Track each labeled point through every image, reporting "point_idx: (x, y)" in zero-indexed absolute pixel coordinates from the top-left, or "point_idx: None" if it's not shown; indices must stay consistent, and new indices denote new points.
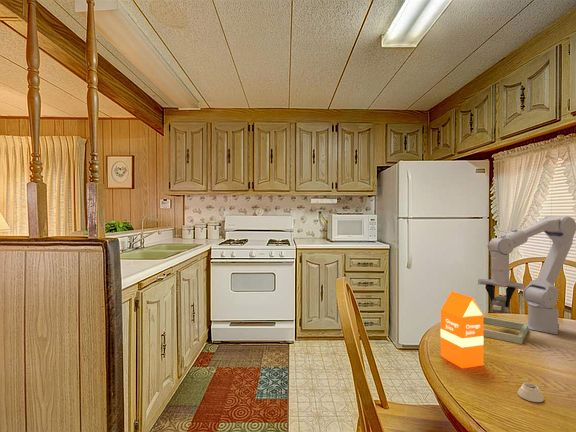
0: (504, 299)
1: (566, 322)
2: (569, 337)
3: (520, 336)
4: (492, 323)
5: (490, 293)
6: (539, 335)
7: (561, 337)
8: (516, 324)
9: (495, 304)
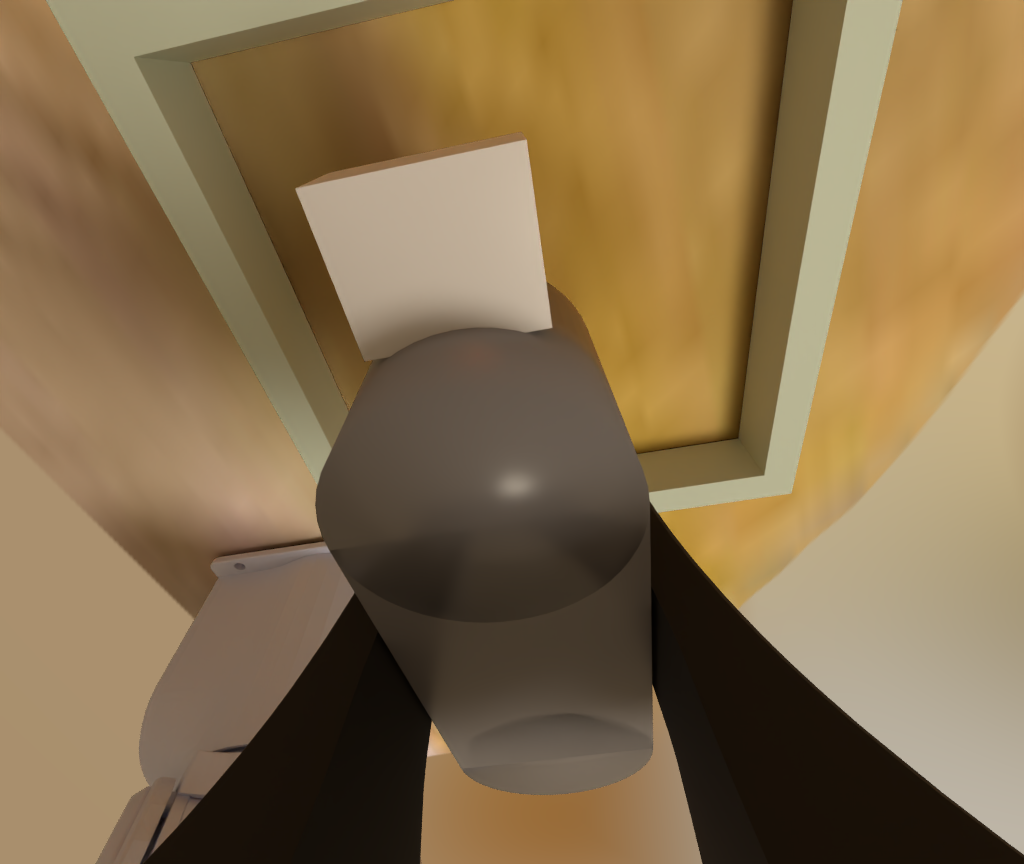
0: (450, 684)
1: None
2: (147, 562)
3: (83, 28)
4: None
5: (787, 734)
6: (258, 467)
7: (165, 530)
8: None
9: (505, 335)
